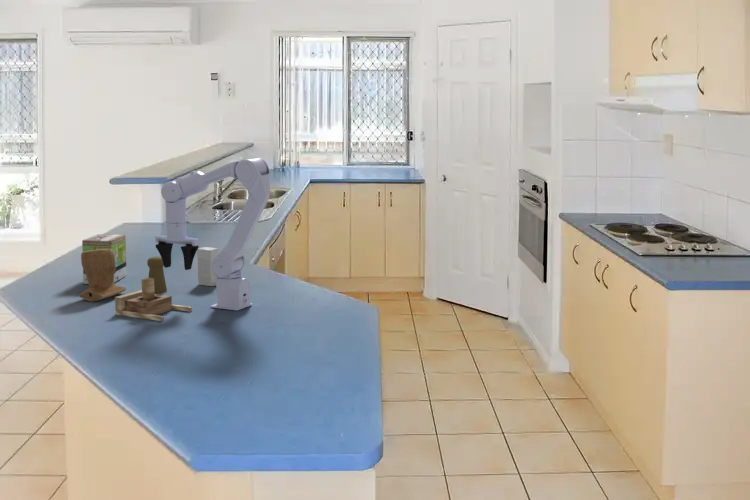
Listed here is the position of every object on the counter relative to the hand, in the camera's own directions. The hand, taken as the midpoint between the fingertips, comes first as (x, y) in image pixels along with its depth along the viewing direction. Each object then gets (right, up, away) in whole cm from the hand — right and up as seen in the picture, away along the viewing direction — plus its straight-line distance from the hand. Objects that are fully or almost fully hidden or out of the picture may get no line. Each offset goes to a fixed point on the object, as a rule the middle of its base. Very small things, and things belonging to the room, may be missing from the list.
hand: (177, 268), depth 244 cm
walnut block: (-6, -12, -10) cm, 17 cm away
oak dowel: (-6, -10, -10) cm, 15 cm away
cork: (-10, -8, +17) cm, 21 cm away
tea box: (-32, -5, +34) cm, 47 cm away
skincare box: (+4, -6, +27) cm, 28 cm away
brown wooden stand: (-26, -9, +9) cm, 29 cm away
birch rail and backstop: (-4, -12, -11) cm, 17 cm away
